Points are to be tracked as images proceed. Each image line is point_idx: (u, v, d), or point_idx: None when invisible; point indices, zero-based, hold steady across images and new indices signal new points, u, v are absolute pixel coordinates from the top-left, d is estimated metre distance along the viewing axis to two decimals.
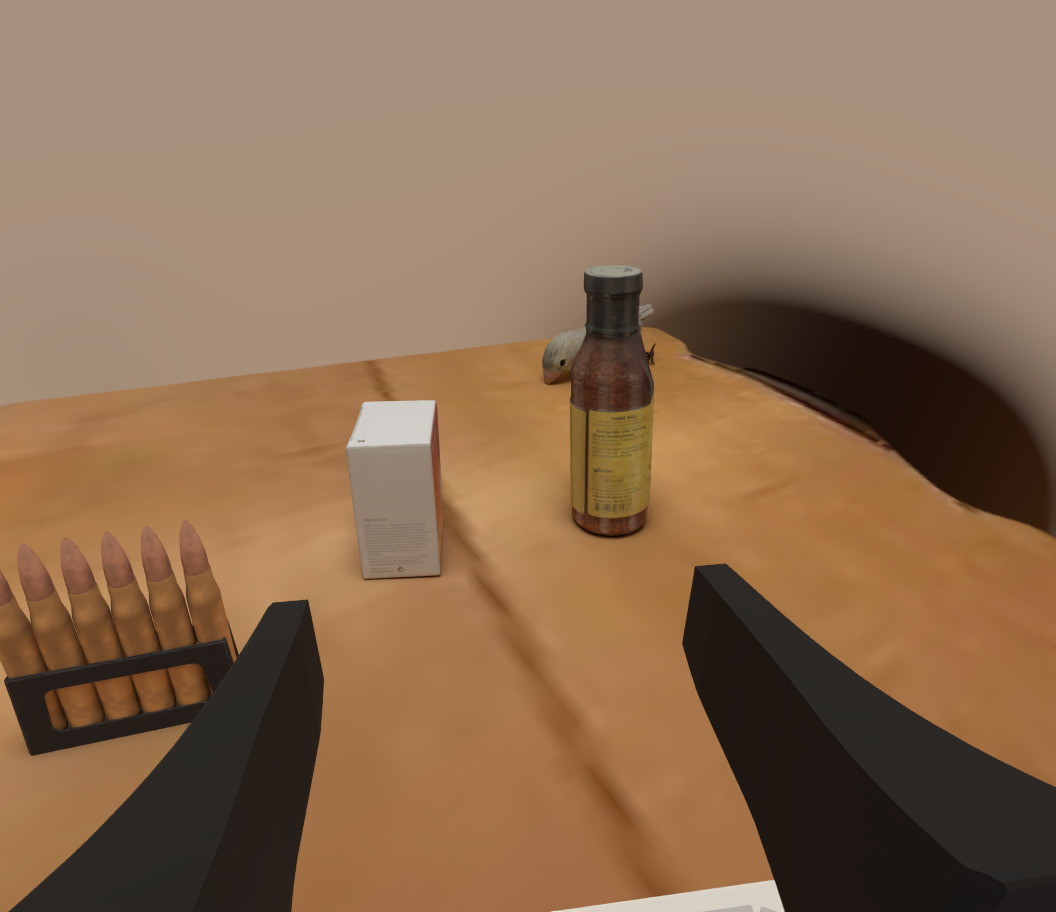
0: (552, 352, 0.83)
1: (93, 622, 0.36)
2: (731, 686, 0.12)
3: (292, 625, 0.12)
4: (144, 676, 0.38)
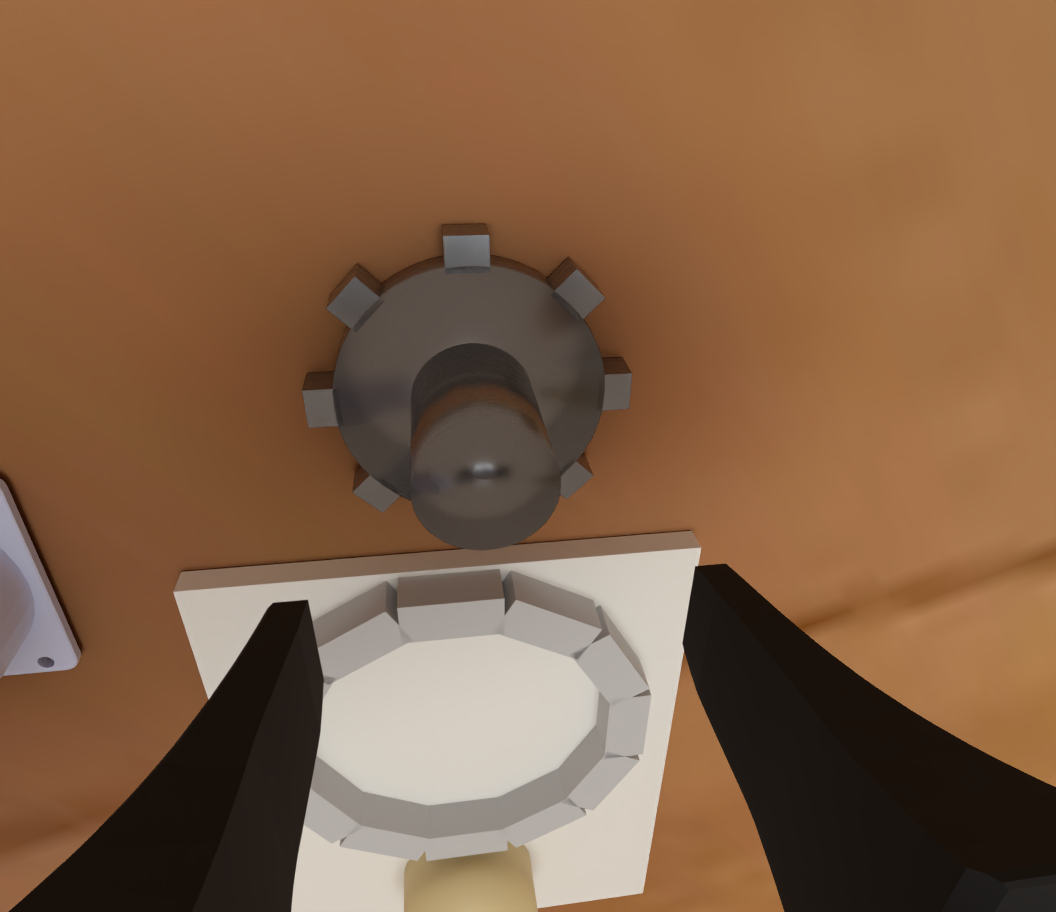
0: None
1: None
2: (731, 685, 0.12)
3: (292, 625, 0.12)
4: None
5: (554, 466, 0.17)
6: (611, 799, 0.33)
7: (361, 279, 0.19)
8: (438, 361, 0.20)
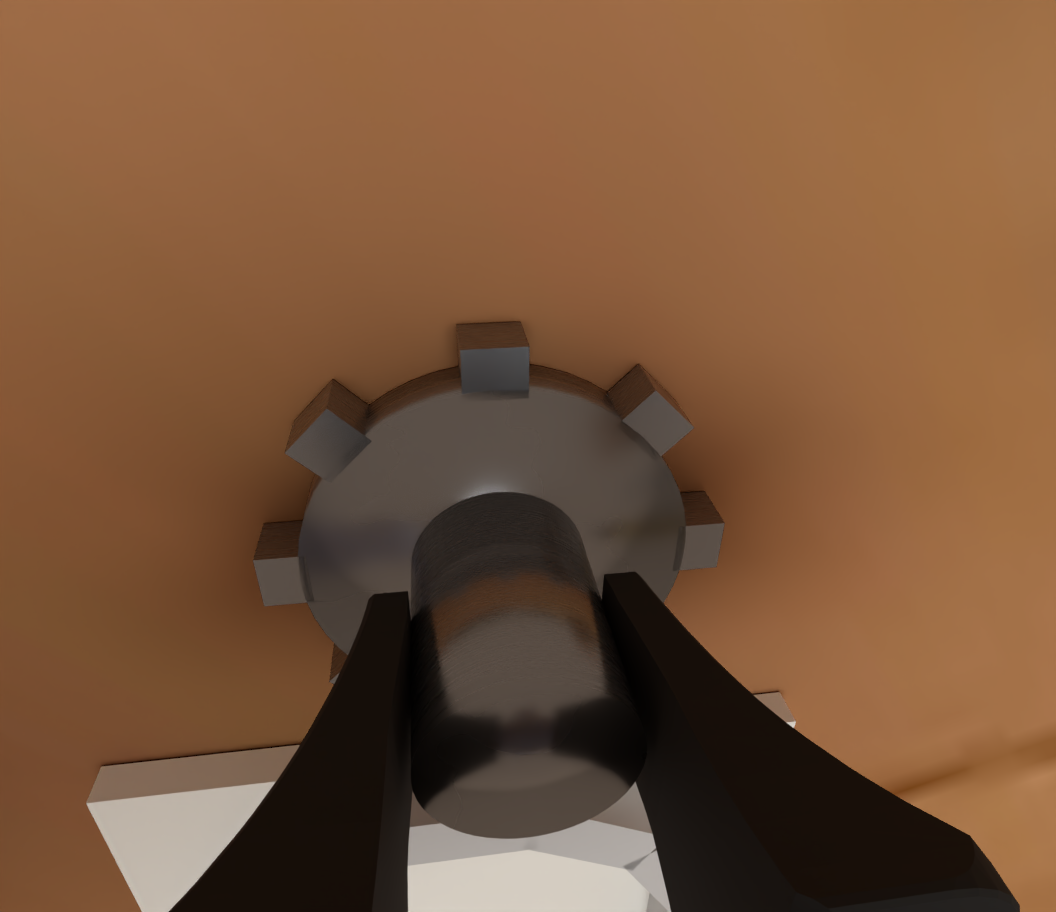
0: None
1: None
2: None
3: (399, 616, 0.12)
4: None
5: (638, 732, 0.11)
6: None
7: (337, 410, 0.13)
8: (452, 525, 0.14)
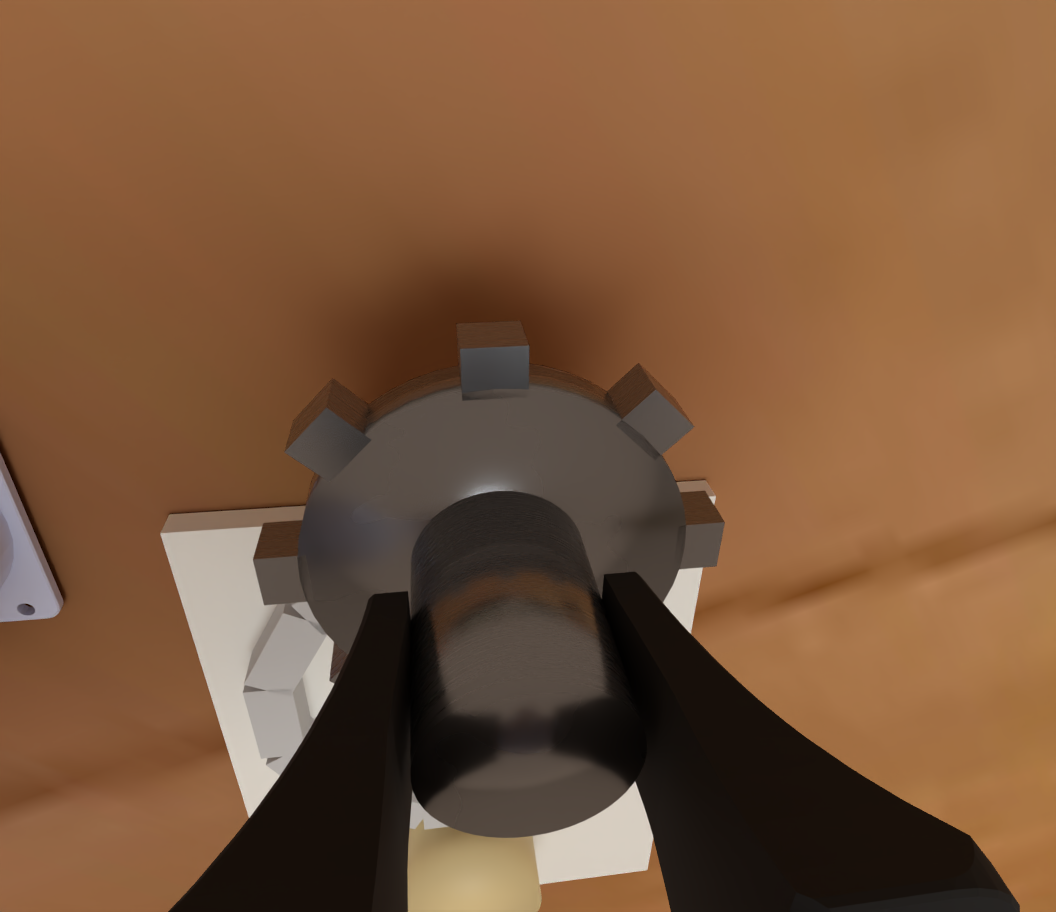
0: None
1: None
2: None
3: (399, 615, 0.12)
4: None
5: (638, 731, 0.11)
6: None
7: (337, 409, 0.13)
8: (452, 523, 0.14)
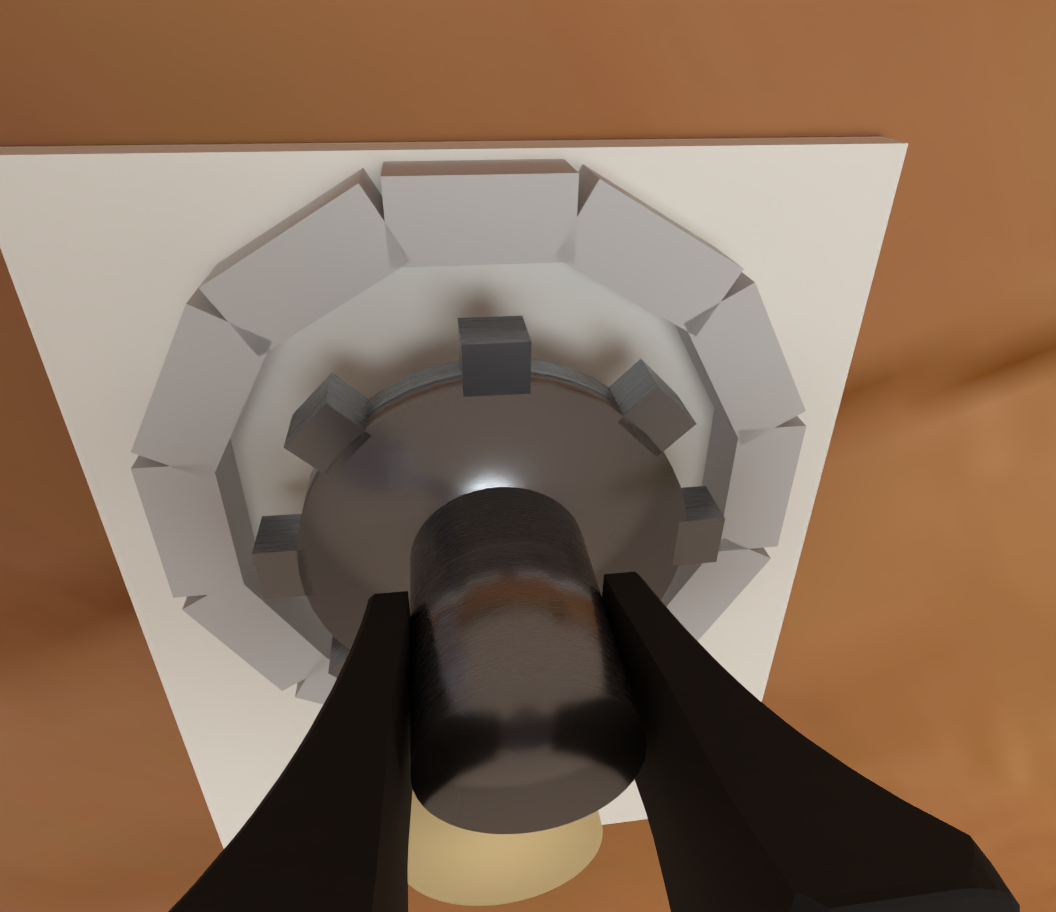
0: None
1: None
2: None
3: (399, 615, 0.12)
4: None
5: (638, 731, 0.11)
6: None
7: (336, 404, 0.13)
8: (451, 520, 0.13)
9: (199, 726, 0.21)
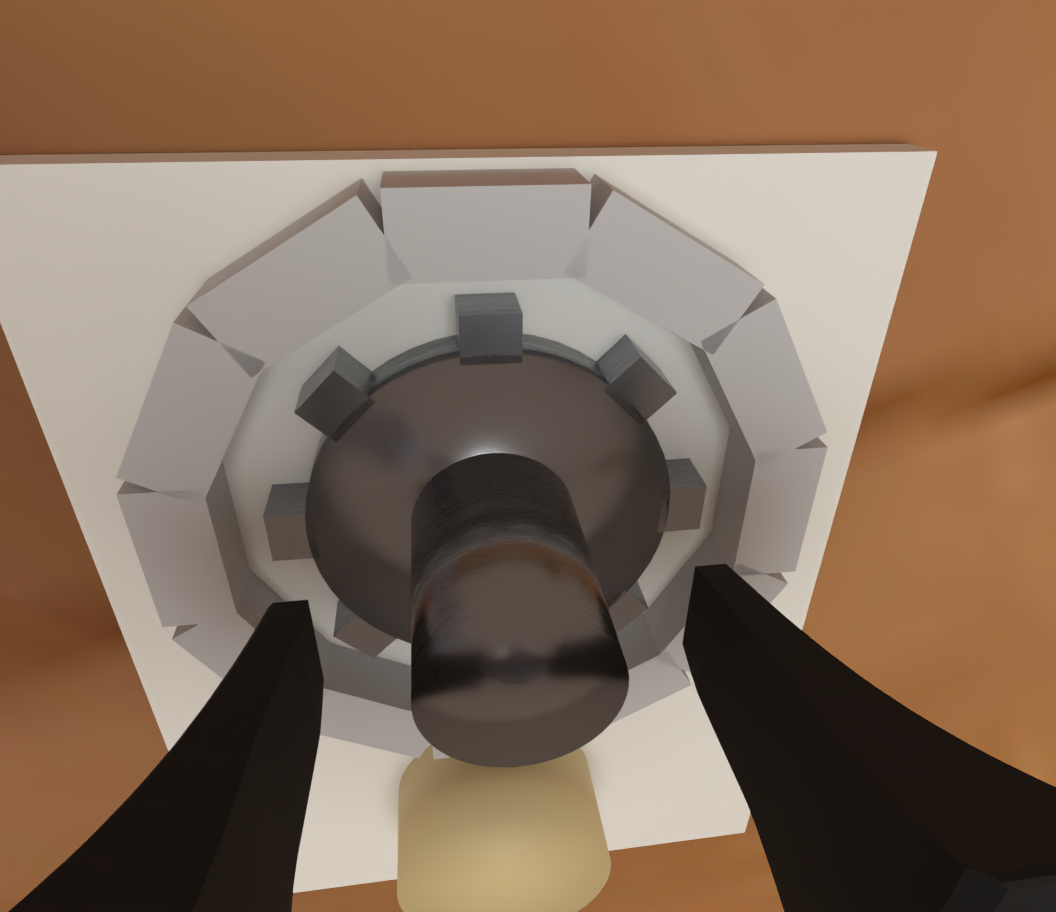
0: None
1: None
2: (731, 685, 0.12)
3: (292, 625, 0.12)
4: None
5: (621, 663, 0.12)
6: None
7: (343, 372, 0.14)
8: (450, 482, 0.14)
9: None
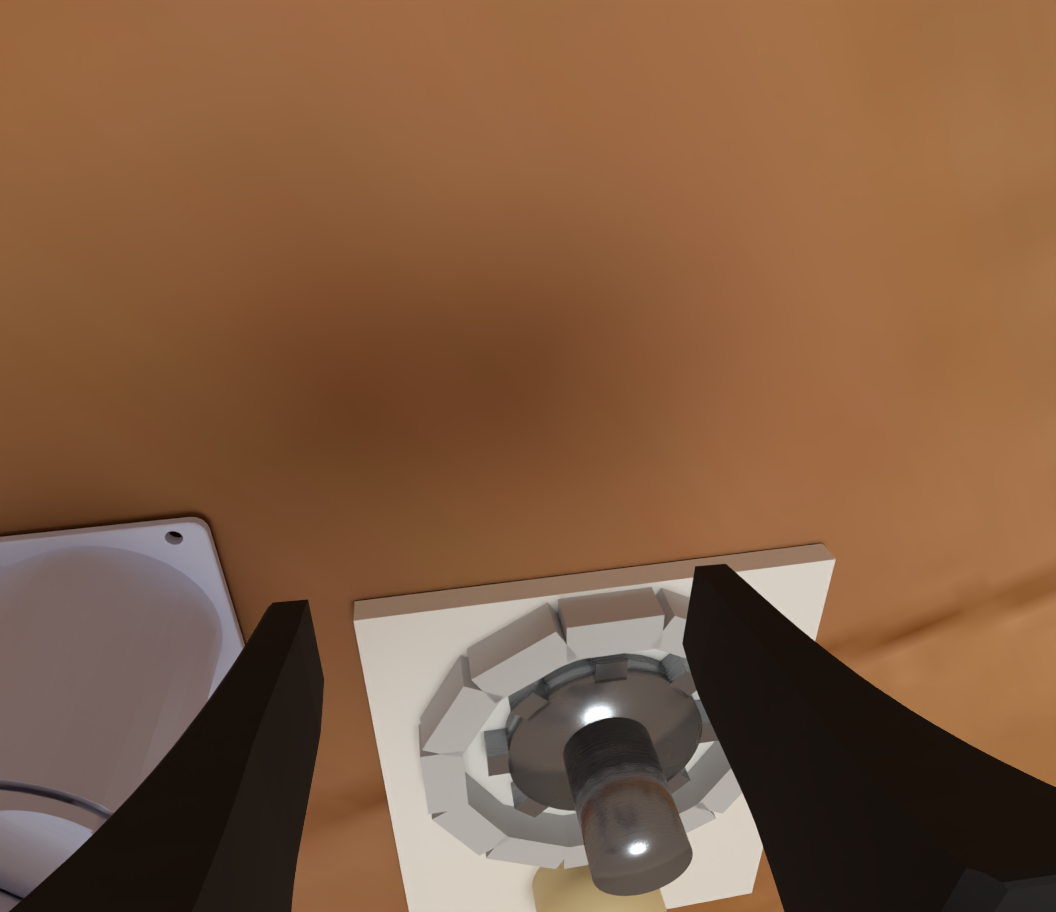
0: None
1: None
2: (731, 686, 0.12)
3: (292, 625, 0.12)
4: None
5: (689, 848, 0.25)
6: None
7: (535, 690, 0.27)
8: (589, 739, 0.28)
9: (414, 870, 0.33)
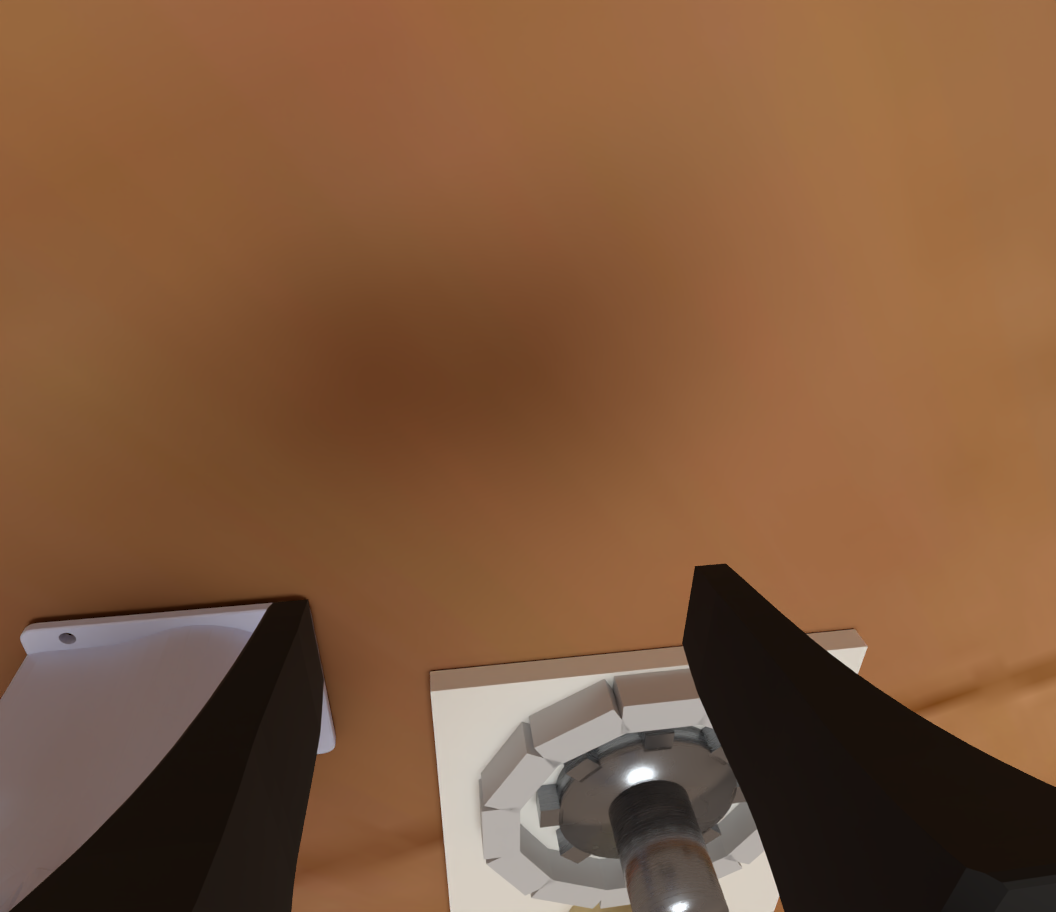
0: None
1: None
2: (731, 685, 0.12)
3: (292, 625, 0.12)
4: None
5: (726, 909, 0.27)
6: None
7: (589, 756, 0.30)
8: (635, 800, 0.30)
9: (461, 902, 0.36)
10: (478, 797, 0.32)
